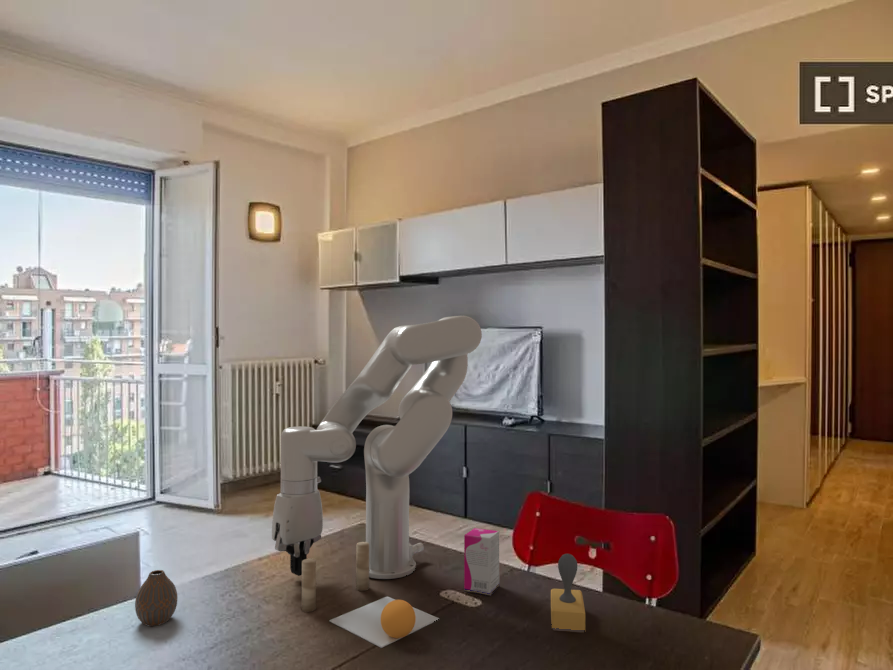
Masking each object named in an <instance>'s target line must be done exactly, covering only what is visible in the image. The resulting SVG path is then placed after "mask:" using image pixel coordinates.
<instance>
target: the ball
mask: <svg viewBox="0 0 893 670" xmlns="http://www.w3.org/2000/svg"><path fill="white" fill-rule="evenodd" d="M415 621H416V616H415V612H414V609H413V606H412V605H411V604H410V603H409V602H408V601H406V600H403V599H395V600H393V601H391V602H389V603H388V604H387V605H386V606H385V607H384V609H383V611H382V613H381V626H382V628H383V630H384V631H385V633H386V634H387V635H389V636H390V637H393V638H401V639H403V638H405V637H406V636H409V635H410V634H409V633H410V632H411V631H412V629H413V628H414V625H415ZM408 634H409V635H408ZM402 637H403V638H402Z"/></svg>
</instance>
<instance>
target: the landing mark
mask: <svg viewBox="0 0 893 670" xmlns="http://www.w3.org/2000/svg"><path fill="white" fill-rule="evenodd" d="M393 600H396V599H394V598H392V597H390V596H384V597H382V598H380V599H378V600H375V601H373V602H370V603H367V604H366V605H363V606H361V607H358V608H356V609H353V610H351V611H348V612H345V613H343V614H342V615H339V616H337V617H334V618H332V619H330V620H329V619H328V620H329V623H332V624H334V625H335V626H338V627H339V628H342V629H343V630H345V631H348V632H350V633H351V634H353V635H355V636H357V637H359V638H361V639H363V640H364V641H366V642H369V643H370V644H373V645H374V646H377V647H379V648H380V649H382V648H384V647H387V646H388V645H391V644H392V643H394V642H396V641H399V640H401V639H403V638H404V637H402V638H393V637H390V636H389V635H387V634H386V633H385V631H384V630H383V628H382V626H381V613H382V611H383V609H384V607H385V606H386V605H387V604H388V603H389V602H391V601H393ZM412 607H413V606H412ZM413 609H414V612H415V616H416V621H415V625H414V628H413V629H412V631H411V632H410V633H409V634H408V635H407V636H409V635H410V634H414V633H415V632H417V631H419V630H421V629H423V628H426V627H427V626H429V625H431V624H433V623H435V622H436V620H437V621H439V620H440V618H439V617H437V616H434V615H432V614H430V613H427V612H426V611H423V610H421V609H418V608H415V607H413ZM438 619H439V620H438ZM434 621H435V622H434Z"/></svg>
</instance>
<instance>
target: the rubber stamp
mask: <svg viewBox="0 0 893 670" xmlns="http://www.w3.org/2000/svg"><path fill="white" fill-rule="evenodd" d="M557 569H558V573H559V575H560V579H561V581H562V584H563V585H562V586H563V588H552V589H550V620H551V621H550V623H551V624H552V625H551V629H552V628H555V629H556V628H559V629H571V630H585V631H586V610H585V604H584V597H583V592H582V590H580V589H572V586H573V582H574V580H575V578H576V575H577V571H578V561H577V559H576V557H575V556H574V555H573V554H571V553H564V554H562V555H561V556H560V558H559V560H558V563H557Z"/></svg>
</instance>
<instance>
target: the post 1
mask: <svg viewBox="0 0 893 670" xmlns="http://www.w3.org/2000/svg"><path fill="white" fill-rule="evenodd" d="M316 599H317V560H316V558H307V559H304V560H303V561H302V575H301V611H302V612H304V613H310V612H314V611H315V610H316V609H317V606H316V605H317V604H316V603H317V601H316Z"/></svg>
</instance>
